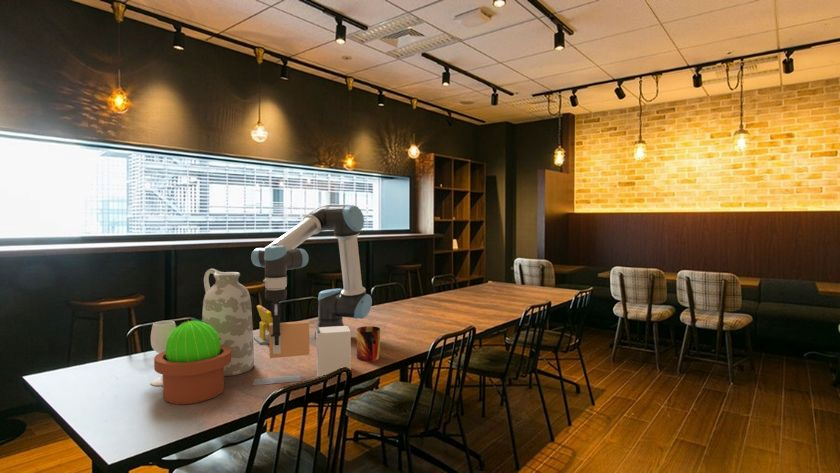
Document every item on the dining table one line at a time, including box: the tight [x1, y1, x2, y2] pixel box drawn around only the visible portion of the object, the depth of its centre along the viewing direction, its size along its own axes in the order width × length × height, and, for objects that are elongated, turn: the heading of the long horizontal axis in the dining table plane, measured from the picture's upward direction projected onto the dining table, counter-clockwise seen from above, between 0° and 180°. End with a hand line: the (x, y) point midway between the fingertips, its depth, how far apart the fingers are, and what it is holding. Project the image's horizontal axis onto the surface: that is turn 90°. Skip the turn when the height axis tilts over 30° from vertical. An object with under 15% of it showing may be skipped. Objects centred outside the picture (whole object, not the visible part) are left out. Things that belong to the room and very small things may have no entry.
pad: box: [253, 374, 302, 387], centre depth 160 cm, size 6×16×1 cm, turn 107°
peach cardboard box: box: [268, 320, 310, 359], centre depth 165 cm, size 3×14×12 cm, turn 107°
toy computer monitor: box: [253, 304, 273, 345], centre depth 211 cm, size 20×8×16 cm, turn 34°
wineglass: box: [150, 320, 177, 387], centre depth 158 cm, size 9×9×21 cm
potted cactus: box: [153, 318, 231, 405], centre depth 147 cm, size 22×22×25 cm
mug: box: [356, 325, 381, 363], centre depth 186 cm, size 10×14×12 cm
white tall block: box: [315, 325, 352, 378], centre depth 170 cm, size 9×12×17 cm
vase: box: [201, 268, 255, 377], centre depth 172 cm, size 20×19×38 cm
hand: (276, 351), depth 164 cm, fingers closed on peach cardboard box, 3 cm apart
